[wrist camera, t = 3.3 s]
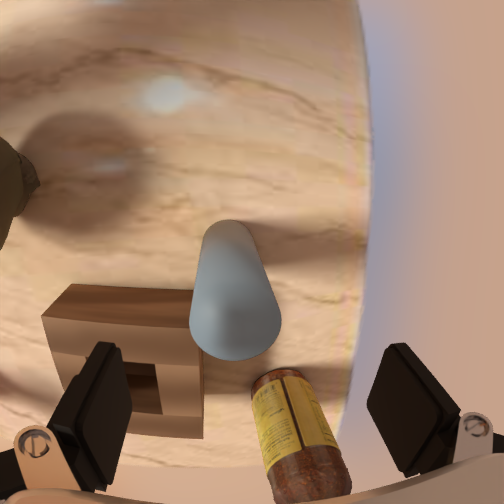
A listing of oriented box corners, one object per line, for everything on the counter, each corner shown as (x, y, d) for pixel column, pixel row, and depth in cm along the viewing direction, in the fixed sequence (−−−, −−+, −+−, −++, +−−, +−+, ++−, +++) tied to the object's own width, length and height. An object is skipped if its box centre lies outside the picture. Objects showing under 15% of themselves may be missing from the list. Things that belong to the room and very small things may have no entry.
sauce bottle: (252, 411, 31) (280, 580, 12) (246, 369, 29) (279, 568, 10) (311, 402, 31) (367, 559, 12) (313, 359, 29) (389, 539, 10)
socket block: (71, 283, 24) (40, 315, 18) (201, 290, 26) (197, 328, 20) (94, 385, 28) (78, 424, 22) (204, 394, 29) (203, 439, 23)
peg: (202, 218, 24) (188, 280, 12) (254, 220, 24) (285, 283, 13) (201, 267, 25) (190, 360, 14) (251, 269, 25) (276, 360, 14)
